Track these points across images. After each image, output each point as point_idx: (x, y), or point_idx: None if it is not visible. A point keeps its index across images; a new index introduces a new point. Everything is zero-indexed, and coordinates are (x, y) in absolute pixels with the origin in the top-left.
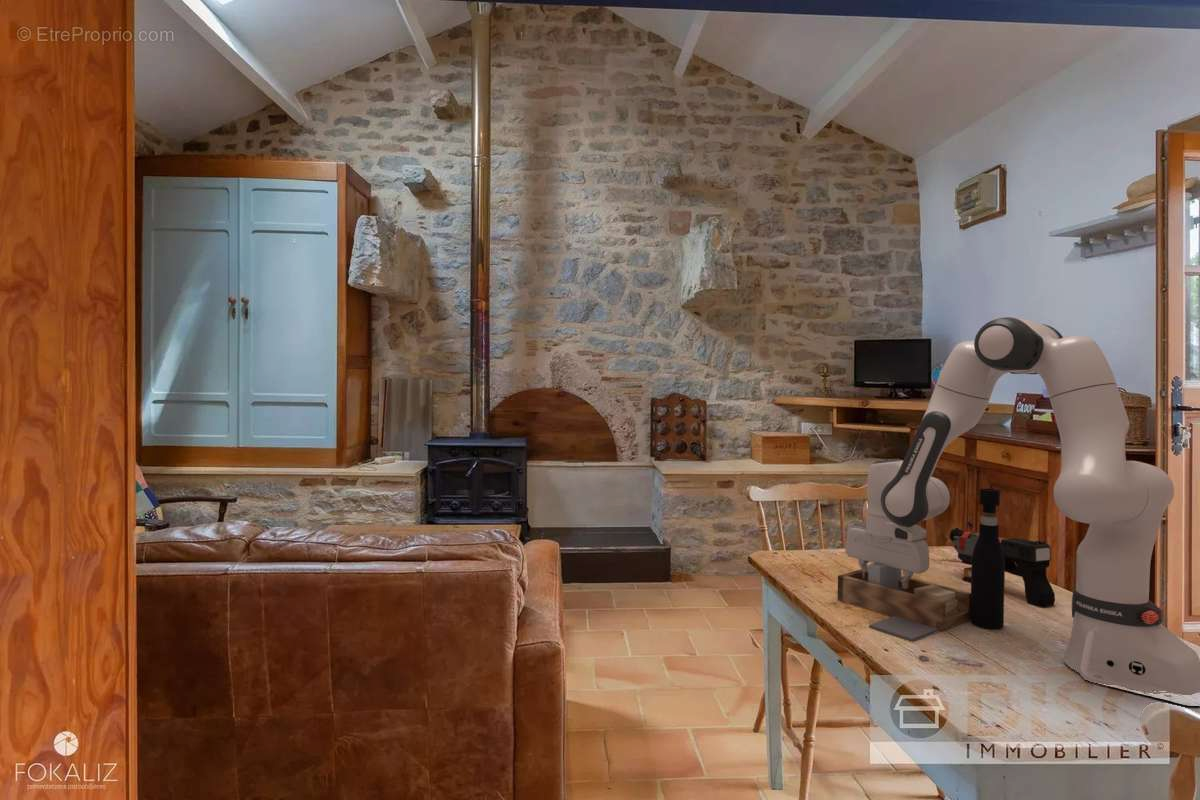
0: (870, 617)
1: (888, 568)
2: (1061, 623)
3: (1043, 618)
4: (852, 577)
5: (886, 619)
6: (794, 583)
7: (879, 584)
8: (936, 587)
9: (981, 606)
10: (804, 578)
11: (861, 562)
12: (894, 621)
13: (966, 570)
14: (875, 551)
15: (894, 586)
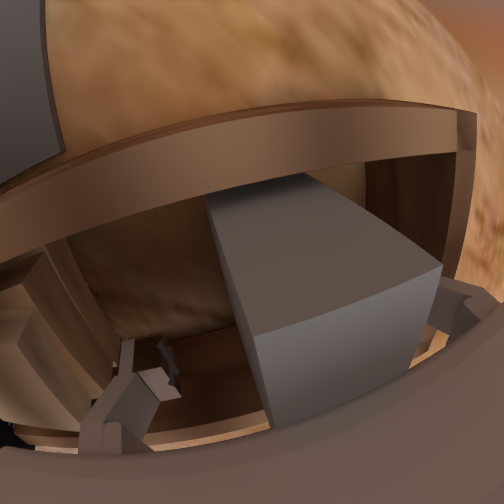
0: (124, 40)
1: (269, 411)
2: (45, 448)
3: (65, 450)
4: (438, 203)
5: (37, 74)
6: (500, 138)
7: (213, 212)
8: (50, 422)
9: None
10: (500, 198)
11: (478, 302)
12: (9, 99)
13: None
14: (473, 465)
15: (242, 340)
